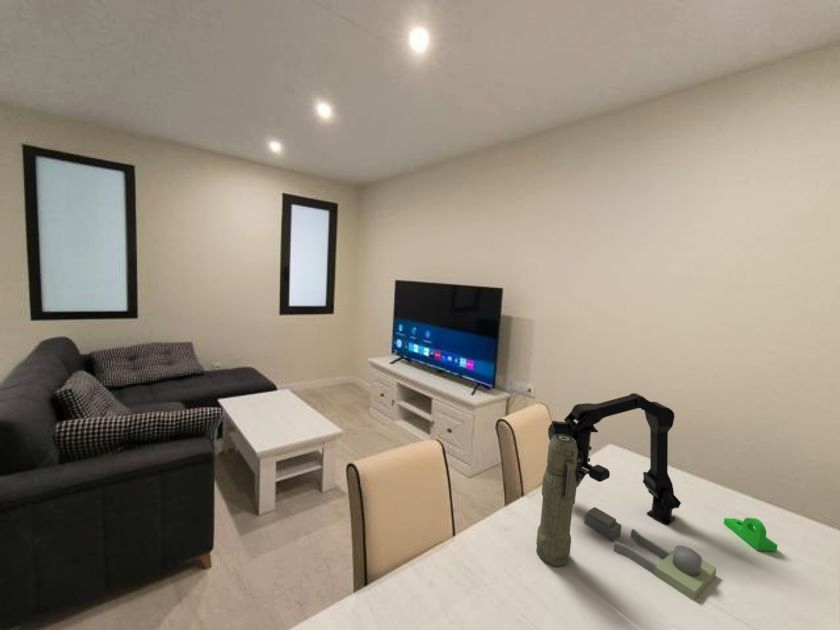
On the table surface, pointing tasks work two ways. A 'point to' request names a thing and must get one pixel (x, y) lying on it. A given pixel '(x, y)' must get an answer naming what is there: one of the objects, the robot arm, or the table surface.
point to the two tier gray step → (603, 524)
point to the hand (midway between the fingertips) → (575, 486)
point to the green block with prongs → (672, 565)
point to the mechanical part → (751, 533)
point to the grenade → (557, 501)
